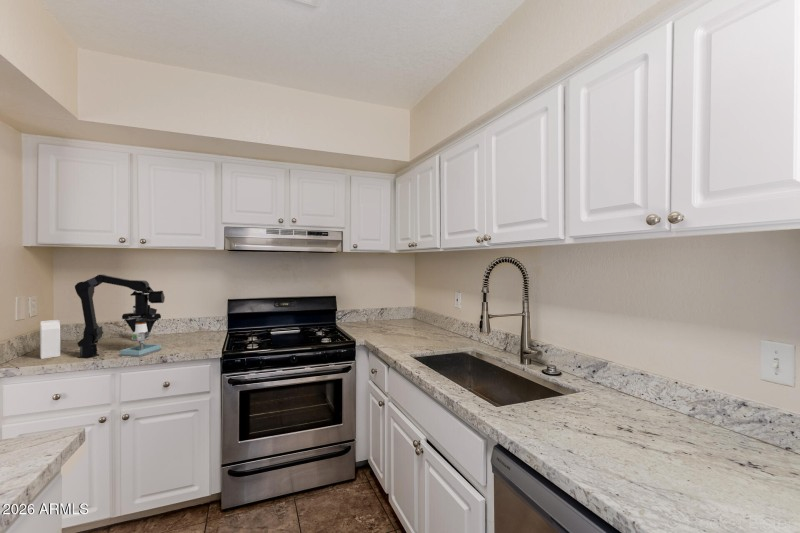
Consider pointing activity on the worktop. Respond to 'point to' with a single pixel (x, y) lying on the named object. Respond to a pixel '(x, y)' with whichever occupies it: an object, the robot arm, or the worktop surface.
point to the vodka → (140, 325)
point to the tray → (137, 352)
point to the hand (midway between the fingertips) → (141, 332)
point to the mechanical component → (141, 338)
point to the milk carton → (50, 339)
